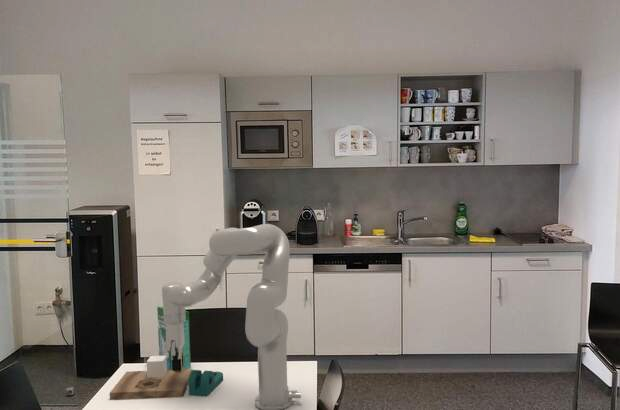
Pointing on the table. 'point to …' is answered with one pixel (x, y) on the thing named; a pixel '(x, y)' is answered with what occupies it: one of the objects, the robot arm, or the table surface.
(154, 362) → the cream cube
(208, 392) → the bracket
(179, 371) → the brass pin
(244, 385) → the table surface
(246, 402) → the table surface
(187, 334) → the milk carton
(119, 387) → the walnut board
